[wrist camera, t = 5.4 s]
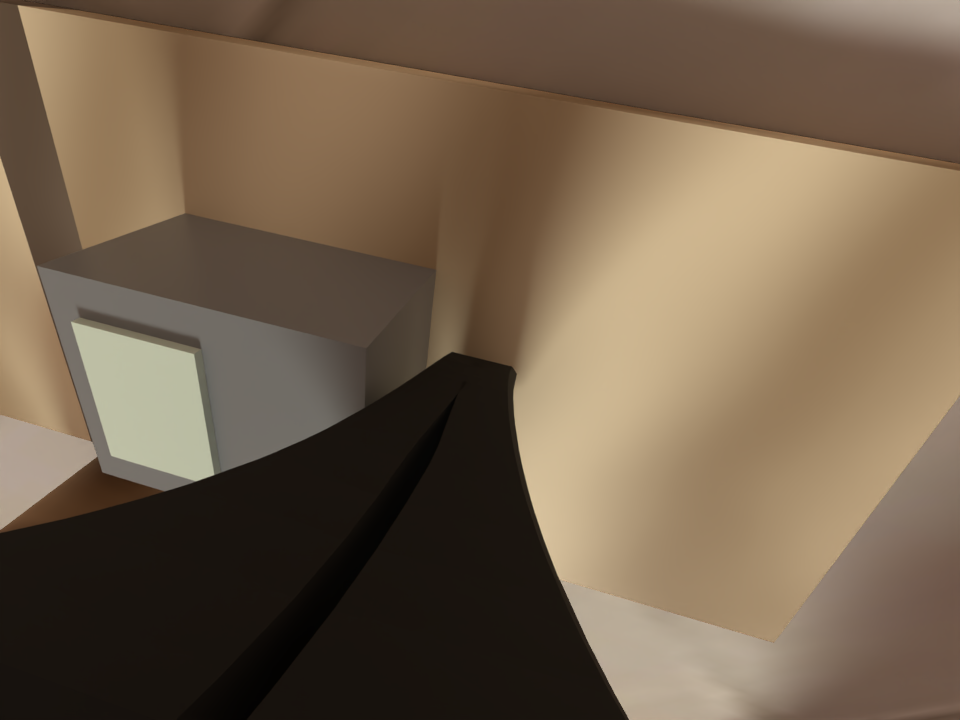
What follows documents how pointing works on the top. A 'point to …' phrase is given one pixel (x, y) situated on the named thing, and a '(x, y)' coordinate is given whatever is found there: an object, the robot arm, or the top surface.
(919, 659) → the top surface
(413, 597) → the robot arm
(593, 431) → the plywood board
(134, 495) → the brown cylinder
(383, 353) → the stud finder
